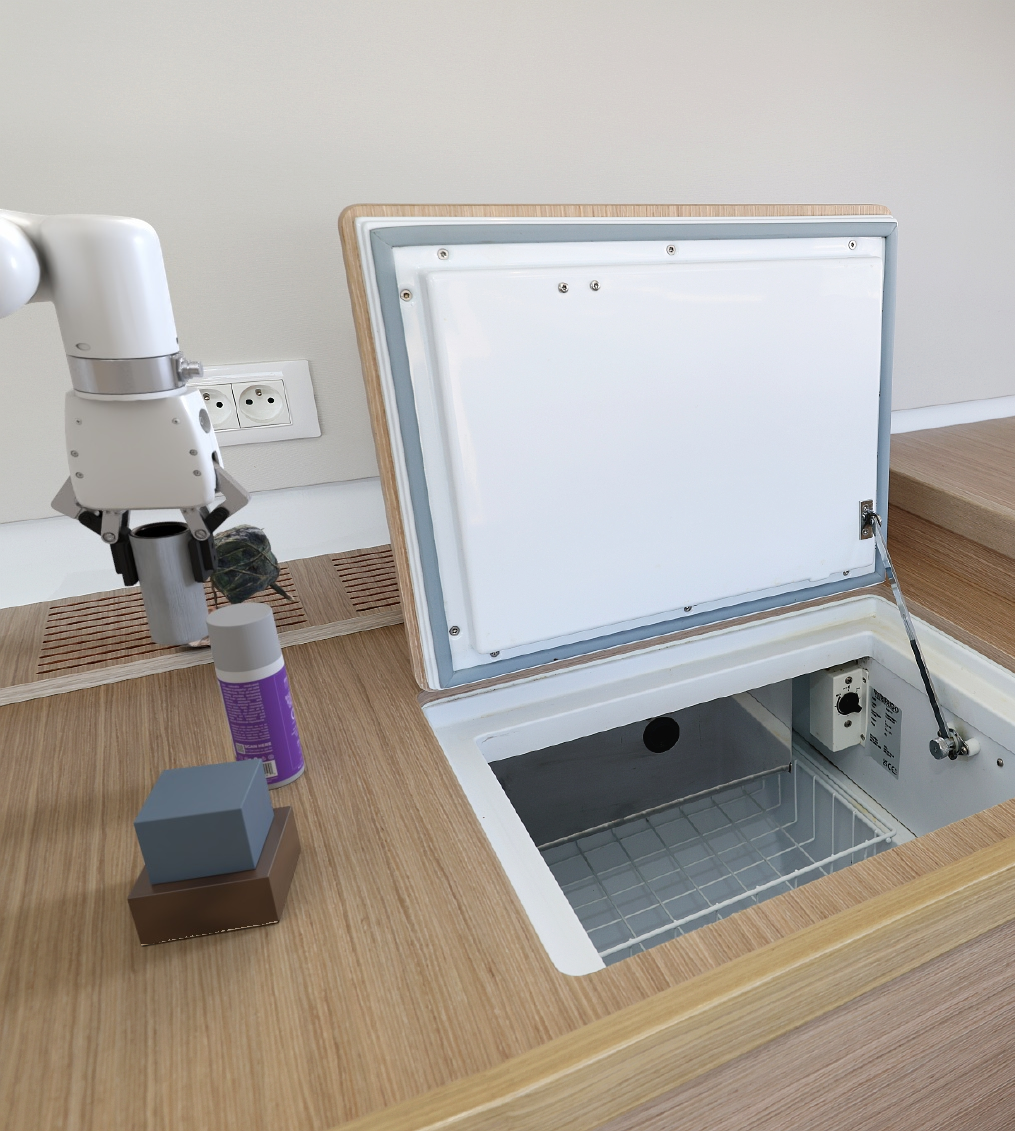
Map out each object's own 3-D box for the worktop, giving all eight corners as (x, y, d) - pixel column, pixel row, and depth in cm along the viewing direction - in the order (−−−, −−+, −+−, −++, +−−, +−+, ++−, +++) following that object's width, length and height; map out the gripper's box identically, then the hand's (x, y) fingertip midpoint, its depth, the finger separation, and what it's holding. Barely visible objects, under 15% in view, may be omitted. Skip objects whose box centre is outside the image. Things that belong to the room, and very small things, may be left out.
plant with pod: (297, 637, 102) (264, 459, 95) (171, 656, 97) (126, 469, 90) (297, 608, 109) (266, 439, 101) (180, 624, 104) (138, 447, 96)
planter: (195, 620, 89) (175, 517, 85) (221, 633, 87) (202, 528, 83) (141, 636, 85) (118, 529, 82) (167, 651, 83) (144, 541, 79)
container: (316, 770, 80) (286, 611, 75) (261, 797, 77) (224, 632, 71) (284, 752, 83) (252, 596, 77) (229, 778, 79) (191, 616, 73)
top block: (178, 828, 67) (162, 769, 65) (274, 815, 69) (262, 757, 67) (150, 885, 61) (132, 822, 60) (255, 869, 63) (241, 808, 61)
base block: (140, 946, 62) (126, 898, 60) (177, 867, 69) (165, 822, 67) (279, 923, 64) (268, 876, 63) (301, 848, 71) (292, 805, 70)
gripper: (257, 367, 83) (286, 559, 90) (23, 364, 78) (72, 568, 85) (236, 384, 77) (269, 589, 84) (-22, 382, 71) (36, 601, 78)
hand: (170, 576), depth 84 cm, fingers closed on planter, 4 cm apart
